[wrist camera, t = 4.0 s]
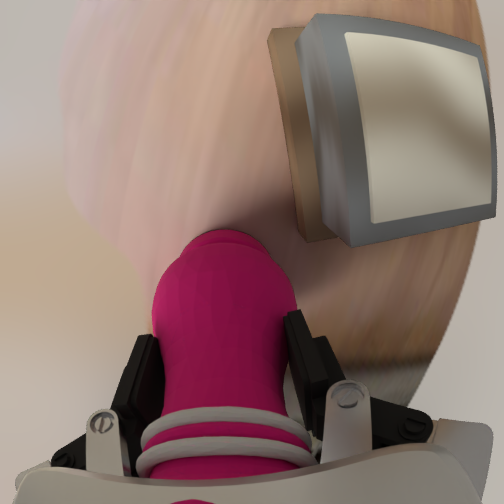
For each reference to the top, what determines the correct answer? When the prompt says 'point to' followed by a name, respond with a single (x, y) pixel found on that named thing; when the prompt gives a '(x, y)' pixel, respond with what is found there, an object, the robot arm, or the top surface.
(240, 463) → the pepper mill
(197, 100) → the top surface
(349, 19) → the grey square container
